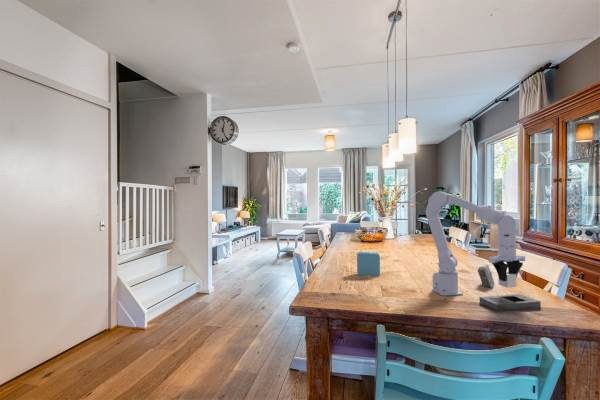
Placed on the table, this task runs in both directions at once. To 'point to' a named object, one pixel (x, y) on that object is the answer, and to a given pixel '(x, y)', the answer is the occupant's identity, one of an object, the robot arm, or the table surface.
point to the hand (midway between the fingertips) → (507, 280)
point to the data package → (368, 263)
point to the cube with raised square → (509, 280)
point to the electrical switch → (486, 276)
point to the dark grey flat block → (510, 302)
